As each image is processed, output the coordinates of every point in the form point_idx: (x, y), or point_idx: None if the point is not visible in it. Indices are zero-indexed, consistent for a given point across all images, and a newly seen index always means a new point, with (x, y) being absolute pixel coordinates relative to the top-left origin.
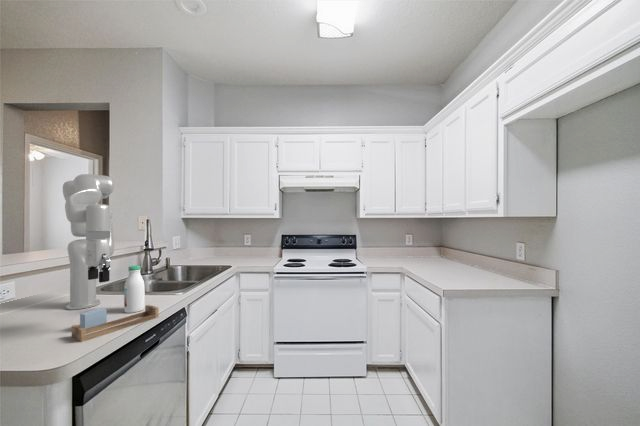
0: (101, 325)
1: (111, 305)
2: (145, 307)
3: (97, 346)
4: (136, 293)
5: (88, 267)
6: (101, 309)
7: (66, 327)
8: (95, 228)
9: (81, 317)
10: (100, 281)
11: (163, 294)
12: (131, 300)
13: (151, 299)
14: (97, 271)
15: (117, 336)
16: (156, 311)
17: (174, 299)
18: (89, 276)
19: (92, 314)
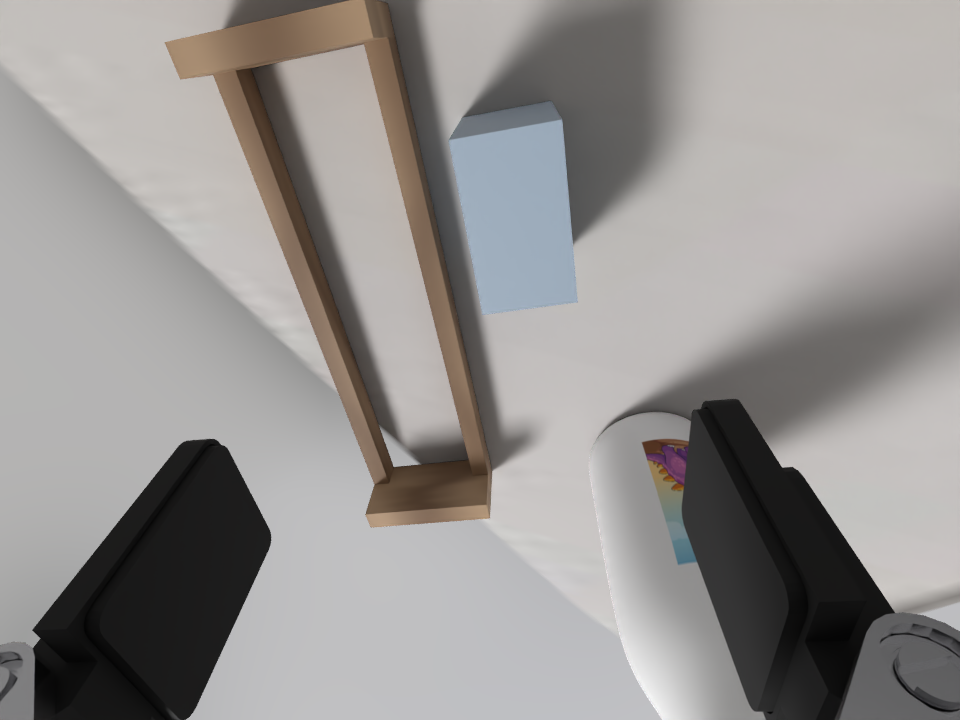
0: (409, 222)
1: (955, 409)
2: (484, 494)
3: (57, 105)
4: (609, 559)
5: (942, 688)
6: (529, 289)
7: (713, 21)
8: None
9: (527, 120)
10: (182, 458)
11: None
12: (618, 494)
13: None
14: (731, 641)
15: (183, 243)
16: (373, 501)
17: None
18: (719, 456)
19: (463, 203)
